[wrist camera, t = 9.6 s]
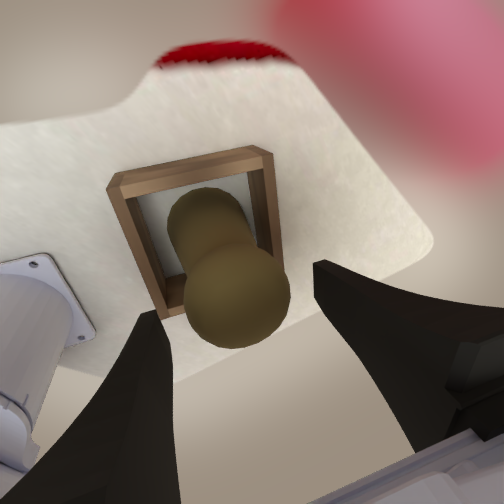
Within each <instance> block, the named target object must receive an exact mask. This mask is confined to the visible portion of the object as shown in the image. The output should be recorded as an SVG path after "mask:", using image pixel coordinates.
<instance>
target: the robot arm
mask: <svg viewBox="0 0 504 504" xmlns="http://www.w3.org/2000/svg"><path fill="white" fill-rule="evenodd" d="M31 261H35V262H37V263H38V265H33V264H32V263H31ZM313 281H314V298H315V300H316V301H317V303H318V305H319V307H320V308H321V310H322V311H323V313H324V314H325V316H326V317H327V318H328V320H329V321H330V322H331V323H332V325H333V326H334V327H335V329H336V330H337V331H338V332H339V333H340V335H341V336H342V337H343V338H344V339H345V341H346V342H347V343H348V345H349V346H350V347H351V348H352V350H353V351H354V352H355V353H356V355H357V356H358V358H359V359H360V360H361V362H362V363H363V365H364V366H365V368H366V370H367V371H368V372H369V374H370V375H371V377H372V379H373V380H374V382H375V384H376V385H377V387H378V389H379V390H380V392H381V393H382V395H383V397H384V398H385V400H386V402H387V403H388V405H389V407H390V408H391V410H392V412H393V413H394V415H395V417H396V419H397V421H398V422H399V424H400V426H401V428H402V430H403V431H404V433H405V435H406V437H407V439H408V440H409V442H410V444H411V446H412V448H413V450H414V451H415V454H413V455H411V456H409V457H407V458H405V459H402V460H400V461H398V462H396V463H394V464H392V465H389V466H387V467H385V468H383V469H381V470H379V471H376V472H374V473H372V474H370V475H368V476H366V477H364V478H361V479H359V480H357V481H355V482H353V483H351V484H349V485H346V486H344V487H342V488H340V489H338V490H336V491H334V492H331V493H329V494H327V495H325V496H323V497H320V498H318V499H316V500H314V501H312V502H310V503H307V504H504V308H499V307H489V306H479V305H472V304H466V303H459V302H453V301H447V300H442V299H438V298H433V297H428V296H423V295H420V294H416V293H412V292H408V291H405V290H402V289H398V288H395V287H392V286H389V285H386V284H384V283H381V282H378V281H375V280H373V279H370V278H368V277H365V276H363V275H360V274H358V273H356V272H353V271H351V270H349V269H346V268H344V267H342V266H340V265H337V264H335V263H333V262H330V261H328V260H321V261H318V262H314V263H313ZM95 334H96V331H95V329H94V328H93V326H92V325H91V323H90V321H89V320H88V318H87V316H86V315H85V313H84V311H83V310H82V308H81V306H80V305H79V303H78V301H77V300H76V298H75V296H74V295H73V293H72V291H71V290H70V288H69V286H68V285H67V283H66V281H65V280H64V278H63V276H62V275H61V273H60V271H59V270H58V268H57V266H56V265H55V263H54V261H53V260H52V258H51V257H50V256H49V255H47V254H37V255H33V256H29V257H25V258H21V259H17V260H13V261H9V262H4V263H0V504H181V498H180V490H179V482H178V473H177V464H176V454H175V444H174V433H173V362H172V354H171V346H170V342H169V339H168V337H167V335H166V332H165V330H164V327H163V325H162V323H161V320H160V318H159V316H158V313H157V311H156V309H155V310H152V311H148V312H145V313H141V314H140V316H139V318H138V320H137V322H136V324H135V326H134V328H133V330H132V332H131V334H130V336H129V338H128V340H127V342H126V344H125V346H124V348H123V349H122V351H121V353H120V355H119V357H118V359H117V360H116V362H115V364H114V365H113V367H112V368H111V370H110V372H109V373H108V375H107V377H106V378H105V380H104V381H103V383H102V384H101V386H100V387H99V389H98V390H97V392H96V393H95V395H94V396H93V397H92V399H91V400H90V402H89V403H88V404H87V405H86V407H85V408H84V409H83V410H82V412H81V413H80V414H79V416H78V417H77V418H76V419H75V420H74V422H73V423H72V424H71V425H70V427H69V428H68V429H67V430H66V431H65V433H64V434H63V435H62V436H61V437H60V438H59V439H58V440H57V442H56V443H55V444H54V445H53V446H52V447H51V448H50V449H49V451H48V452H47V453H46V454H45V455H44V456H43V457H42V458H41V459H40V460H39V461H38V462H37V463H36V464H35V461H36V458H37V455H38V452H39V449H40V446H39V445H37V444H35V443H34V442H33V440H32V438H31V433H32V431H33V428H34V425H35V423H36V420H37V418H38V415H39V412H40V410H41V407H42V404H43V402H44V399H45V396H46V393H47V391H48V388H49V385H50V383H51V380H52V377H53V375H54V372H55V369H56V367H57V364H58V361H59V359H60V356H61V353H62V351H63V348H66V347H70V346H73V345H76V344H79V343H83V342H86V341H89V340H92V339H93V338H94V337H95ZM81 335H82V336H84V337H80V336H81ZM34 464H35V465H34Z"/></svg>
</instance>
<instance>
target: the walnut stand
mask: <svg viewBox="0 0 504 504" xmlns="http://www.w3.org/2000/svg"><path fill="white" fill-rule="evenodd" d="M244 172H247V175H248V182H249V188H250V195H251V202H252V209H253V215H254V222H255V229H256V236H257V242H258V248H261V249H262V250H264V251H266V252H268V253H269V254H270V255H271V256H272V257H273V258H275V259H276V260H277V261H278V262H279V264H280V265H281V266H282V268H283V270H284V261H283V251H282V241H281V230H280V220H279V210H278V200H277V190H276V179H275V169H274V159H273V153H270V152H268V151H266V150H263V149H261V148H259V147H256V146H254V145H250V146H245V147H241V148H236V149H231V150H226V151H221V152H216V153H211V154H206V155H202V156H197V157H192V158H187V159H182V160H177V161H172V162H167V163H163V164H158V165H153V166H148V167H143V168H138V169H133V170H128V171H123V172H119V173H115V174H114V176H113V177H112V179H111V181H110V183H109V185H108V186H107V188H106V192H107V194H108V196H109V199H110V201H111V203H112V206H113V208H114V211H115V213H116V215H117V218H118V220H119V223H120V225H121V227H122V230H123V232H124V234H125V237H126V239H127V242H128V244H129V246H130V249H131V251H132V253H133V256H134V258H135V261H136V263H137V265H138V268H139V270H140V272H141V275H142V277H143V280H144V282H145V284H146V287H147V289H148V291H149V294H150V296H151V299H152V301H153V303H154V306H155V308H156V310H157V313H158V315H159V318H160V320H163V319H166V318H169V317H173V316H176V315H179V314H182V313H185V309H184V302H183V300H184V287H185V284H186V280H187V275H186V273H184V274H180V275H177V276H173V277H170V278H165V275H164V272H163V270H162V267H161V264H160V261H159V259H158V256H157V253H156V251H155V248H154V245H153V242H152V240H151V237H150V234H149V232H148V229H147V226H146V223H145V221H144V218H143V215H142V213H141V210H140V207H139V205H138V202H137V199H136V196H141V195H145V194H150V193H154V192H159V191H163V190H168V189H172V188H177V187H181V186H185V185H190V184H194V183H199V182H203V181H208V180H212V179H217V178H221V177H226V176H230V175H235V174H239V173H244ZM284 272H285V271H284Z"/></svg>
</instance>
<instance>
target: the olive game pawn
mask: <svg viewBox="0 0 504 504" xmlns="http://www.w3.org/2000/svg"><path fill="white" fill-rule="evenodd" d="M167 231H168V234H169V238H170V241H171V243H172V245H173V247H174V249H175V252H176V254H177V256H178V258H179V260H180V262H181V265H182V267H183V269H184V271H185V273H186V275H187V280H186V284H185V287H184V300H183V302H184V309H185V312H186V315H187V318H188V321H189V323H190V325H191V327H192V328H193V329H194V331H195V332H196V333H197V334H198V335H199V336H200V337H201V338H202V339H204V340H206V341H207V342H209V343H211V344H213V345H215V346H217V347H221V348H228V349H236V348H245V347H248V346H251V345H254V344H256V343H259V342H260V341H262V340H264V339H265V338H267V337H269V336H270V335H271V334H272V333H273V332H274V331H275V330H276V329H277V328H278V327H279V326H280V325H281V323H282V322H283V320H284V318H285V317H286V315H287V311H288V307H289V303H290V298H291V295H290V284H289V281H288V278H287V276H286V274H285V272H284V270H283V268H282V266H281V265H280V264H279V262H278V261H277V260H276V259H275V258H273V257H272V256H271V255H270V254H269V253H268V252H266V251H264V250H262V249H261V248H258V246H257V244H256V241H255V239H254V236H253V234H252V231H251V229H250V226H249V224H248V221H247V219H246V216H245V214H244V211H243V210H242V208H241V206H240V204H239V202H238V201H237V200H236V199H235V198H234V197H233V196H232V195H231V194H229V193H227V192H225V191H223V190H220V189H218V188H208V187H204V188H200V189H195V190H192V191H190V192H188V193H187V194H185V195H183V196H181V197H180V198H179V199H178V201H177V202H176V203H175V204H174V205H173V206H172V208H171V211H170V213H169V216H168V220H167Z"/></svg>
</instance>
